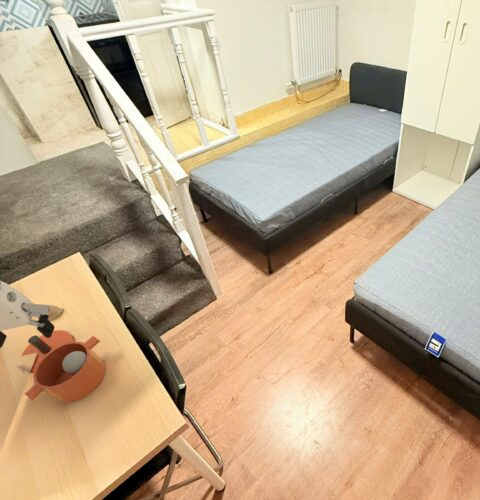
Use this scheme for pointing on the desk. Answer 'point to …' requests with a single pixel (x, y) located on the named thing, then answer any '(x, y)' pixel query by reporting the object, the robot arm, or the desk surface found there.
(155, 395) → the desk surface
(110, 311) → the desk surface
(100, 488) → the desk surface
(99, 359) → the pot
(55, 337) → the pot lid
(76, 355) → the light bulb
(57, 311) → the decorative ornament
